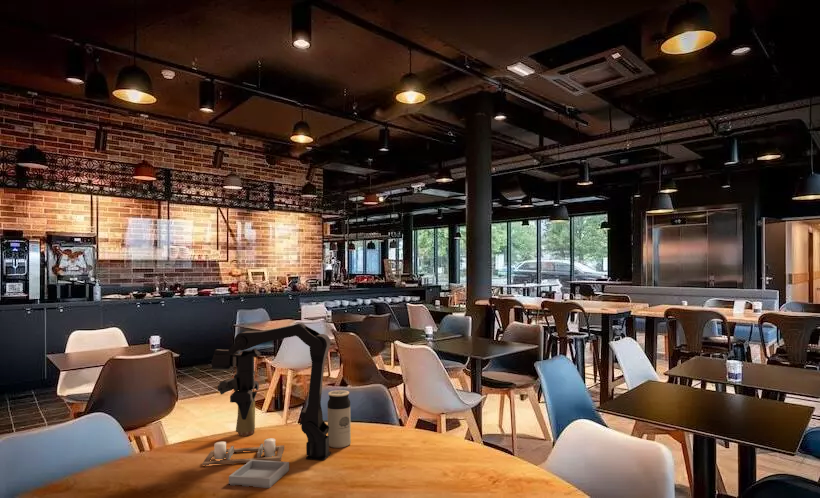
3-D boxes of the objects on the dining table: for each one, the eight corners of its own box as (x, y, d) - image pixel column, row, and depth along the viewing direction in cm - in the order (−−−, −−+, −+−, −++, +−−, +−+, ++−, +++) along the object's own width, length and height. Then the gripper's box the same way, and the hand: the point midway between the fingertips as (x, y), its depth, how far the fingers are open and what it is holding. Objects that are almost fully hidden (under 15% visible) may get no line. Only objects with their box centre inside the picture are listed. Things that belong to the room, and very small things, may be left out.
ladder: (284, 448, 169) (284, 440, 169) (280, 460, 158) (280, 452, 158) (211, 453, 165) (211, 445, 166) (202, 466, 154) (202, 458, 154)
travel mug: (325, 442, 174) (324, 391, 175) (346, 439, 177) (346, 388, 178) (331, 449, 167) (330, 396, 168) (353, 446, 170) (353, 393, 171)
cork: (248, 433, 158) (248, 398, 159) (232, 432, 160) (231, 398, 160) (258, 427, 164) (258, 394, 165) (241, 426, 165) (241, 393, 166)
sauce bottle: (251, 436, 182) (251, 382, 183) (234, 436, 182) (235, 382, 183) (257, 431, 189) (257, 378, 190) (241, 431, 189) (241, 379, 190)
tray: (289, 470, 150) (289, 461, 150) (269, 487, 137) (269, 478, 138) (251, 467, 152) (251, 459, 152) (228, 485, 140) (228, 476, 140)
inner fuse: (275, 453, 165) (275, 437, 165) (274, 456, 161) (274, 441, 161) (264, 453, 164) (264, 438, 164) (263, 457, 161) (263, 442, 161)
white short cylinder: (227, 456, 162) (227, 441, 163) (224, 460, 159) (224, 444, 159) (215, 457, 162) (215, 441, 162) (213, 461, 158) (213, 445, 158)
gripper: (225, 365, 171) (226, 411, 170) (213, 376, 152) (213, 427, 152) (259, 364, 173) (259, 409, 172) (250, 374, 154) (250, 425, 153)
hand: (245, 417), depth 162 cm, fingers closed on cork, 4 cm apart
